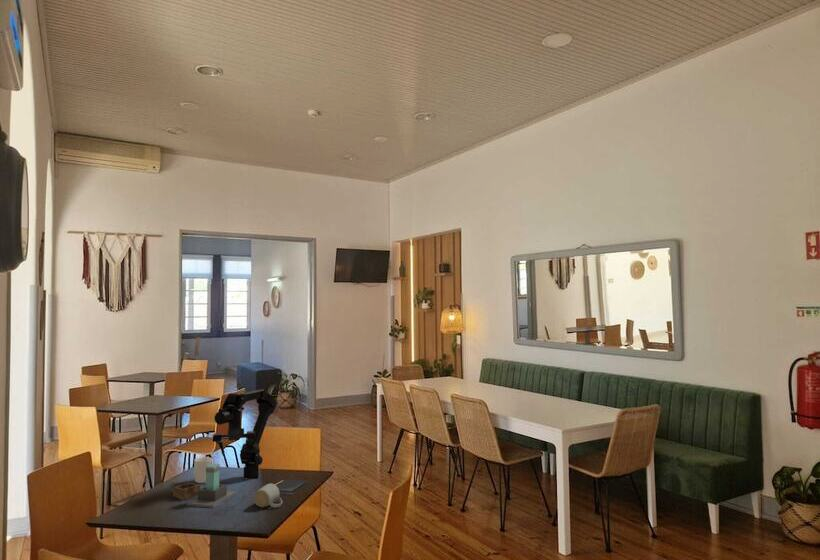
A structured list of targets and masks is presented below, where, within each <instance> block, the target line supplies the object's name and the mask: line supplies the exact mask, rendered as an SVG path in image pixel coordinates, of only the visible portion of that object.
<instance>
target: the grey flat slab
mask: <svg viewBox="0 0 820 560" xmlns="http://www.w3.org/2000/svg"><path fill="white" fill-rule="evenodd" d="M309 482H310V481H309V480H300V479H288V478H287V479H286V478H285V479H283V480H280V481H279V482H277V483H275V484H274V485H276V486H277V487H278V489H279V493H280V494H289V495H291V494H294V493H293V492H294V491H296V490H297V489H299V488H301V487H302V486H304V485H305V484H307V483H309ZM289 495H288V496H289ZM294 495H295V494H294ZM291 496H292V495H291Z"/></svg>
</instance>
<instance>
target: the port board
mask: <svg viewBox="0 0 820 560" xmlns="http://www.w3.org/2000/svg"><path fill="white" fill-rule="evenodd" d="M236 495H237V490H236V491H233V490H228V486H227V484H220V483H219V488H217V489H216V490H206V485H205V486H203V487H202V488H201V487H200V489H199V490H198V495H197V497H196V498H194V499H192V500H190V501H188V502H186V507H195V508H198V507H199V508H209V509H210V508H211V509H213V508H216V507H217V506H219V505H221V504H222V503H225V502H226V501H227V500H229V499H231V498H232V497H234V496H236Z"/></svg>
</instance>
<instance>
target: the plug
mask: <svg viewBox="0 0 820 560" xmlns="http://www.w3.org/2000/svg"><path fill="white" fill-rule="evenodd" d="M220 467H221V466H220V463H219V464H217V463H212V464H211V465H209V466H207V467H206V482H205V486H206V490H216V489H217V488H219V484H220V469H221V468H220Z"/></svg>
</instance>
